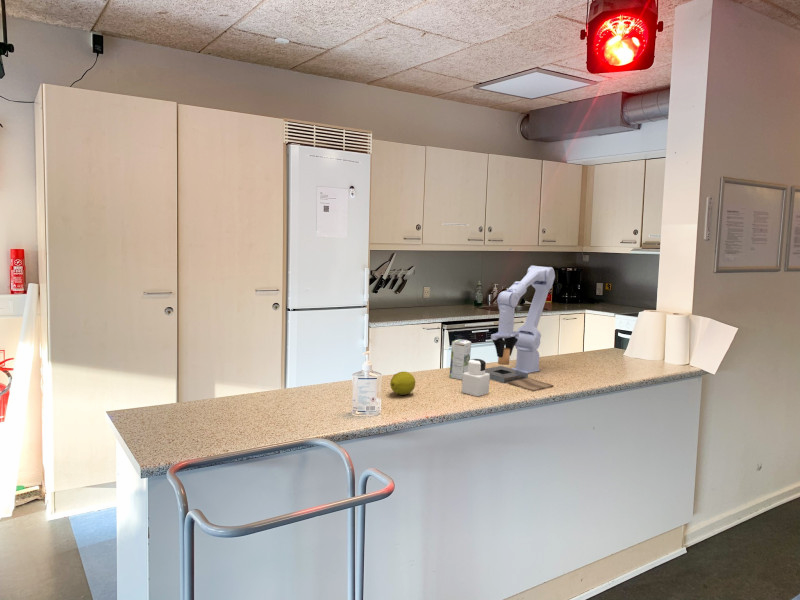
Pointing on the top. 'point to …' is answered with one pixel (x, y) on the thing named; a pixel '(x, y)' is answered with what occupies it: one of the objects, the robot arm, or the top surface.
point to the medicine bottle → (476, 378)
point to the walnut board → (530, 384)
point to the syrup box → (459, 358)
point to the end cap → (504, 357)
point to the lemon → (402, 383)
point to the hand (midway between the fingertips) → (504, 356)
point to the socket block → (505, 374)
